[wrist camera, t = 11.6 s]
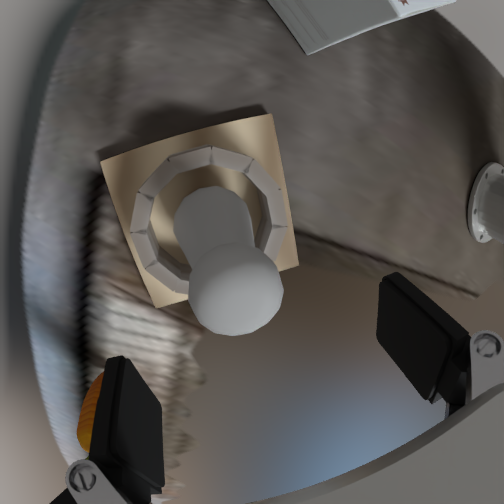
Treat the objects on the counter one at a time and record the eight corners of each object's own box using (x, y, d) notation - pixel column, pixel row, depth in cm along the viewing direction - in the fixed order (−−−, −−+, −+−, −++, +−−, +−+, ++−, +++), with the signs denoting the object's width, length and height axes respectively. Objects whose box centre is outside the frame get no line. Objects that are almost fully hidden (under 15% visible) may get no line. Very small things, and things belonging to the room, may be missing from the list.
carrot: (102, 385, 30) (91, 492, 16) (83, 357, 27) (59, 472, 14) (137, 379, 30) (136, 494, 17) (120, 350, 28) (107, 474, 15)
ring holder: (268, 113, 22) (284, 111, 19) (295, 260, 29) (311, 280, 25) (103, 160, 21) (89, 166, 17) (156, 302, 27) (154, 328, 23)
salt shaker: (163, 195, 22) (146, 273, 11) (231, 170, 23) (288, 219, 11) (189, 258, 25) (204, 370, 13) (252, 234, 25) (314, 328, 14)
